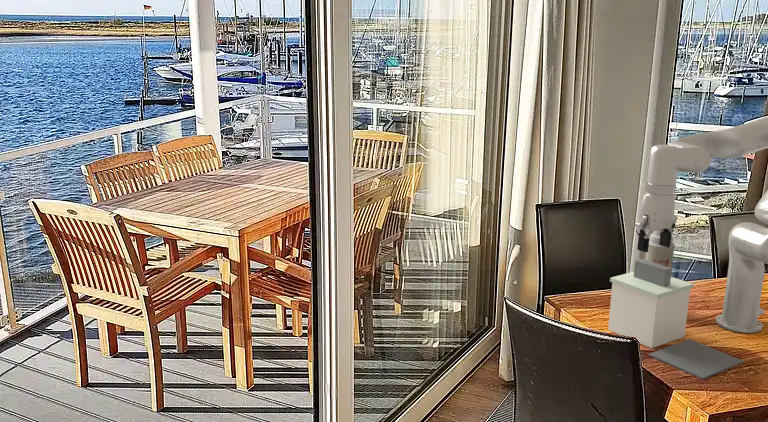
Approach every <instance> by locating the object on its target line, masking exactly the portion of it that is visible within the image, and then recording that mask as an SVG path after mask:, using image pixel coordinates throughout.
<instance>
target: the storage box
mask: <svg viewBox="0 0 768 422" xmlns="http://www.w3.org/2000/svg"><path fill="white" fill-rule="evenodd" d="M610 293H611V294H610V295H611V296H610V305H609V316H608V317H609V318H608V325H607V326H608V327H607V330H608V331H610V332H613V333H614V334H617V335H620V336H622V335H625V336H631V337H635V338H637V339H638V340H639V341H640V343H639V344H641V345H643V346H644V347H647V348H650V349H653V348H656V347H657V348H658V347H659V346H662V345H664V344H665V345H666V344H667V343H670V342H673V341H674V342H675V341H676V340H679V339H682V338H684V337H685V336H686V335H685V334H686V328H687V327H686V326H687V320H688V319H687V318H688V311H689V310H688V309H689V302H690V293H691V289H688V290H685V291H681V292H678V293H675V294H671V295H668V296H665V297H661V298H658V299H657V298H654V297H651V296H648V295H646V294H643V293H640V292H637V291H635V290H632V289H629V288H626V287H623V286H621V285H618V284H615V283H612V282H611V292H610Z"/></svg>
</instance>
